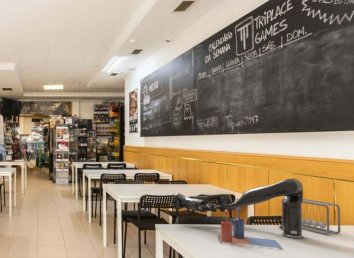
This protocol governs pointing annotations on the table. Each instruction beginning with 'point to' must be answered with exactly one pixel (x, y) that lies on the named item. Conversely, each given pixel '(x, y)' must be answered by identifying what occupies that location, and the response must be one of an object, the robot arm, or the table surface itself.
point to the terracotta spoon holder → (226, 230)
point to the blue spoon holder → (238, 227)
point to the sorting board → (255, 242)
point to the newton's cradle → (316, 223)
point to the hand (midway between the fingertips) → (220, 209)
